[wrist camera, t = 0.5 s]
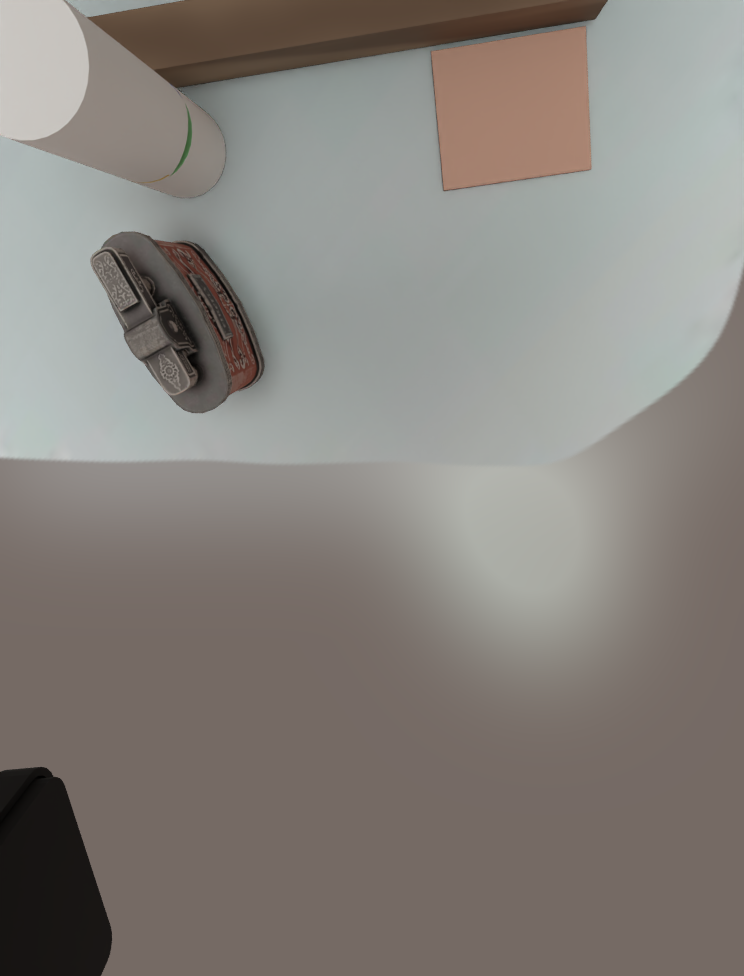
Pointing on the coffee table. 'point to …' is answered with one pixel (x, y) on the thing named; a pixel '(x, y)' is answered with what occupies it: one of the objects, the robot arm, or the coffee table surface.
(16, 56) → the tube
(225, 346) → the lighter
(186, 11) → the walnut straightedge
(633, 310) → the coffee table surface
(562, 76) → the end pad
